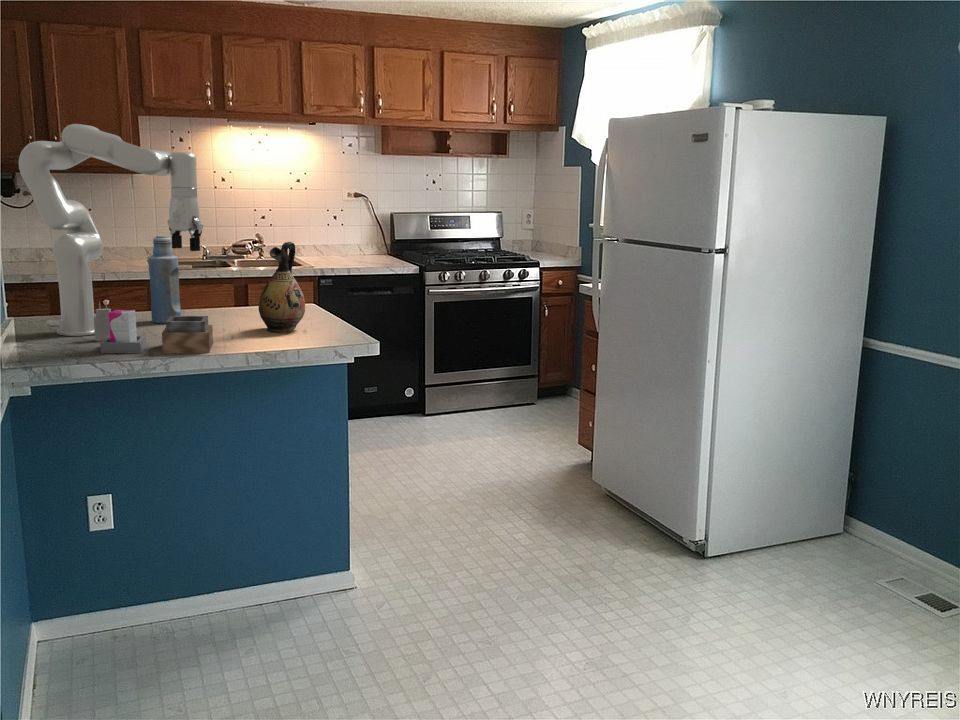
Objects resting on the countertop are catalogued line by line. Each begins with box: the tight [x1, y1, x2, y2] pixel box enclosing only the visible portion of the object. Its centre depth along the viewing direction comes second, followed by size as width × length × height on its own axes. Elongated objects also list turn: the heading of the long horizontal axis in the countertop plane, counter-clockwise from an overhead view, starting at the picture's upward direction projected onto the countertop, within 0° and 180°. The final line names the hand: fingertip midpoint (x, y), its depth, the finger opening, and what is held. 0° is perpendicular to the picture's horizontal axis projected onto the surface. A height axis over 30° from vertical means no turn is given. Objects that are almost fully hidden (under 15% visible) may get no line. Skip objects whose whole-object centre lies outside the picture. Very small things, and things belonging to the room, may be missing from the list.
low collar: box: [99, 335, 148, 354], centre depth 241 cm, size 11×11×3 cm
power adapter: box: [94, 301, 112, 342], centre depth 252 cm, size 3×5×12 cm, turn 126°
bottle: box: [147, 235, 182, 325], centre depth 284 cm, size 10×10×30 cm
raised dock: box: [161, 315, 214, 354], centre depth 245 cm, size 13×13×9 cm
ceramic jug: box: [258, 241, 306, 333], centre depth 277 cm, size 17×15×30 cm
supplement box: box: [109, 309, 138, 342], centre depth 240 cm, size 6×6×12 cm
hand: (185, 249), depth 255 cm, fingers open, 9 cm apart
